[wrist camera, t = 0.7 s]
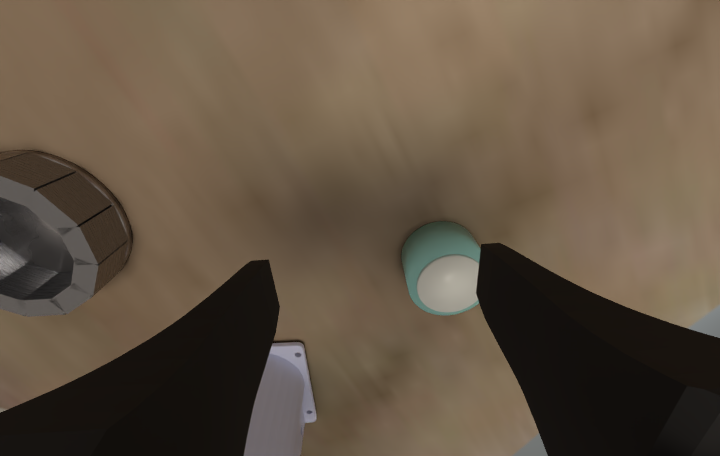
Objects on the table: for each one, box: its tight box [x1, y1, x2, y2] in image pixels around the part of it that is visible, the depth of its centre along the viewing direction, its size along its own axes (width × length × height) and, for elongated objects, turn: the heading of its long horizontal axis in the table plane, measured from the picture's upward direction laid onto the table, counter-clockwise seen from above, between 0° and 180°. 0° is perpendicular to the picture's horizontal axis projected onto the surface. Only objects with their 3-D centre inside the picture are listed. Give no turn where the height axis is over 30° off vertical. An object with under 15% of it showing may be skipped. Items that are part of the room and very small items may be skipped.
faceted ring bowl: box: [0, 150, 132, 317], centre depth 19 cm, size 9×9×3 cm
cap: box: [401, 221, 481, 315], centre depth 21 cm, size 5×5×4 cm
